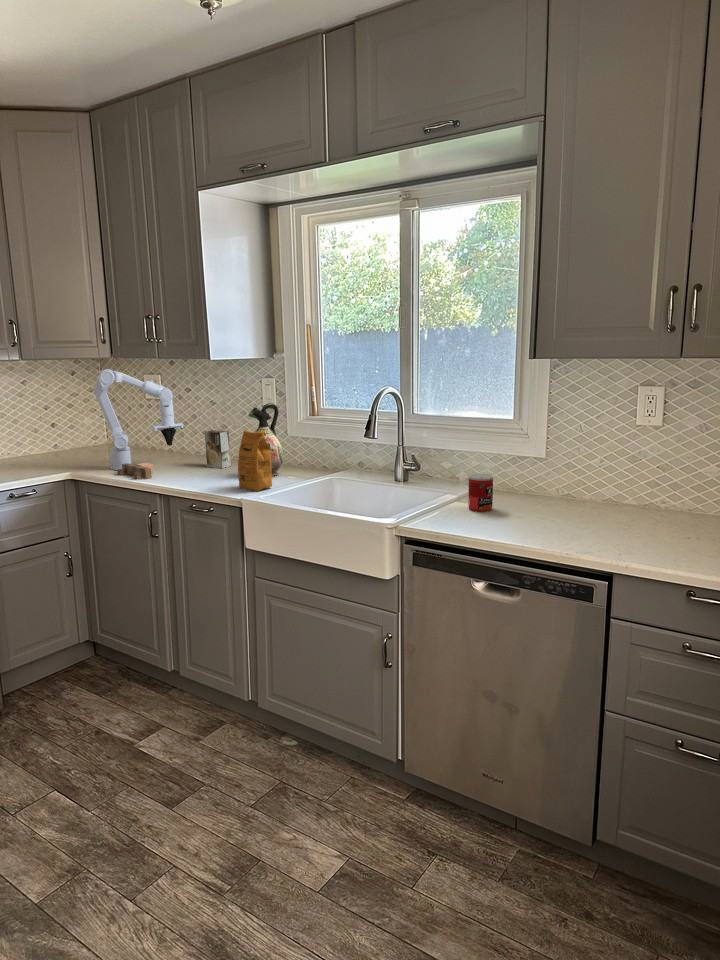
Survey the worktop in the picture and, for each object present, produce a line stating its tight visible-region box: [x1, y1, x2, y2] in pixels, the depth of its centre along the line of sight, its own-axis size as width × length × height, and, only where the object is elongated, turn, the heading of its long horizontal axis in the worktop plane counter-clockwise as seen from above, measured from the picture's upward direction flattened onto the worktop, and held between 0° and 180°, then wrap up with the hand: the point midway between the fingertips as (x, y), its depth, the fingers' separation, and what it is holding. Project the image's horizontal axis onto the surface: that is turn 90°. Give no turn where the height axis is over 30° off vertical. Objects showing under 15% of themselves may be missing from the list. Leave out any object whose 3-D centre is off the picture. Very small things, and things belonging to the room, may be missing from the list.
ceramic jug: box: [248, 402, 284, 477], centre depth 283 cm, size 17×15×30 cm
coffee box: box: [204, 429, 232, 469], centre depth 306 cm, size 9×6×16 cm
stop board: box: [117, 463, 153, 480], centre depth 289 cm, size 20×5×4 cm, turn 47°
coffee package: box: [237, 429, 273, 492], centre depth 259 cm, size 10×12×22 cm
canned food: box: [467, 473, 494, 513], centre depth 222 cm, size 8×8×11 cm
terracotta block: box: [134, 462, 154, 475], centre depth 293 cm, size 6×5×4 cm
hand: (169, 445), depth 310 cm, fingers closed
